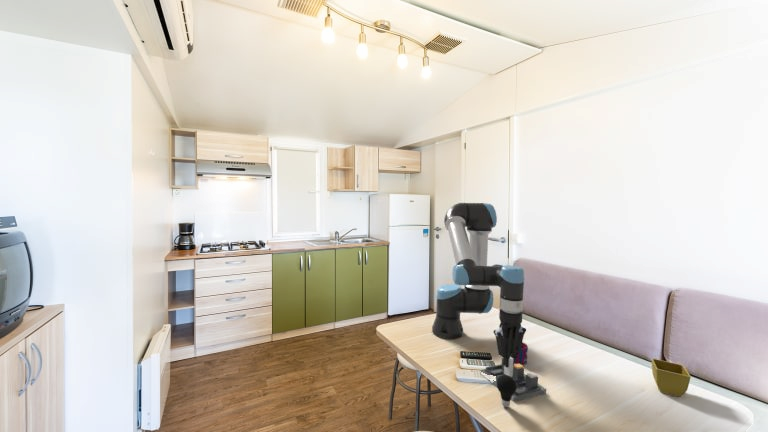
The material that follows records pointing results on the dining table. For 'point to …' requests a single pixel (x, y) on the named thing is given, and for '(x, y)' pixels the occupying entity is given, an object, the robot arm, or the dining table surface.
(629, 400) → the dining table surface
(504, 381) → the light bulb
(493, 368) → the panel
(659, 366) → the flower pot
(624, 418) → the dining table surface
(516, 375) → the block
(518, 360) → the mug
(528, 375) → the breaker
